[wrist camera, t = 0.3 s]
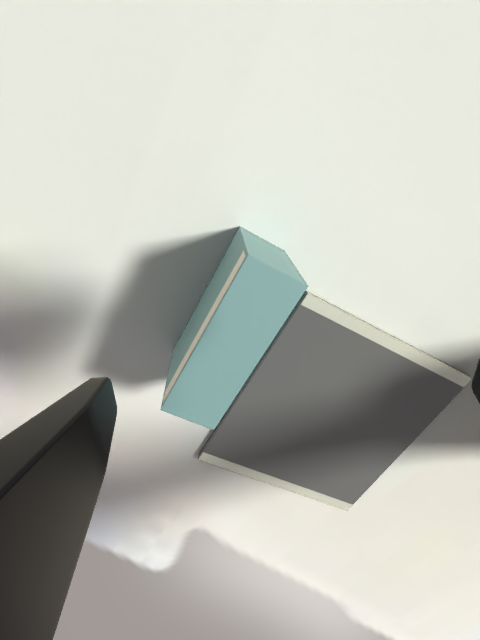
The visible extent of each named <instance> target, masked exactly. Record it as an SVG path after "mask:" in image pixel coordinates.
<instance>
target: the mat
mask: <svg viewBox="0 0 480 640" xmlns="http://www.w3.org/2000/svg"><path fill="white" fill-rule="evenodd" d="M471 380H472V378H470V377H469V376H468V375H466V374H464V373H462V372H460V371H458V370H457V369H455V368H453V367H451V366H449V365H447V364H445V363H443V362H441V361H439V360H437V359H436V358H434V357H432V356H430V355H428V354H426V353H424V352H422V351H420V350H418V349H416V348H414V347H413V346H411V345H409V344H407V343H405V342H403V341H401V340H399V339H397V338H395V337H393V336H391V335H390V334H388V333H386V332H384V331H382V330H380V329H378V328H376V327H374V326H372V325H370V324H368V323H367V322H365V321H363V320H361V319H359V318H357V317H355V316H353V315H351V314H349V313H347V312H345V311H344V310H342V309H340V308H338V307H336V306H334V305H332V304H330V303H328V302H326V301H324V300H323V299H321V298H319V297H317V296H315V295H313V294H311V293H309V292H307V291H306V292H305V294H304V295H303V297H302V298H301V300H300V301H299V303H298V304H297V306H296V307H295V309H294V310H293V312H292V314H291V315H290V317H289V318H288V320H287V321H286V323H285V324H284V326H283V327H282V329H281V330H280V332H279V333H278V335H277V336H276V338H275V339H274V341H273V342H272V344H271V346H270V347H269V349H268V350H267V352H266V353H265V355H264V356H263V358H262V359H261V361H260V362H259V364H258V365H257V367H256V368H255V370H254V371H253V373H252V374H251V376H250V377H249V379H248V381H247V382H246V384H245V385H244V387H243V388H242V390H241V391H240V393H239V394H238V396H237V397H236V399H235V400H234V402H233V403H232V405H231V406H230V408H229V409H228V411H227V413H226V414H225V416H224V417H223V419H222V420H221V422H220V423H219V425H218V426H217V428H216V429H215V431H214V432H213V434H212V435H211V437H210V438H209V440H208V441H207V443H206V445H205V446H204V448H203V449H202V451H201V452H200V454H199V456H198V460H201V461H204V462H207V463H209V464H212V465H215V466H218V467H221V468H224V469H227V470H230V471H233V472H236V473H239V474H241V475H244V476H247V477H250V478H253V479H256V480H259V481H262V482H265V483H268V484H270V485H273V486H276V487H279V488H282V489H285V490H288V491H291V492H294V493H297V494H300V495H302V496H305V497H308V498H311V499H314V500H317V501H320V502H323V503H326V504H329V505H331V506H334V507H337V508H340V509H343V510H346V511H348V510H349V509H350V508H351V507H352V506H353V504H354V503H355V502H356V501H357V500H358V499H359V498H360V497H361V495H362V494H363V493H364V492H365V491H366V490H367V489H368V488H369V487H370V486H371V485H372V484H373V483H374V482H375V481H376V480H377V479H378V478H379V476H380V475H381V474H382V473H383V472H384V471H385V470H386V469H387V468H388V467H389V466H390V465H391V464H392V463H393V462H394V461H395V460H396V459H397V457H398V456H399V455H400V454H401V453H402V452H403V451H404V450H405V449H406V448H407V447H408V446H409V445H410V444H411V443H412V442H413V441H414V440H415V438H416V437H417V436H418V435H419V434H420V433H421V432H422V431H423V430H424V429H425V428H426V427H427V426H428V425H429V424H430V423H431V422H432V421H433V419H434V418H435V417H436V416H437V415H438V414H439V413H440V412H441V411H442V410H443V409H444V408H445V407H446V406H447V405H448V404H449V403H450V402H451V400H452V399H453V398H454V397H455V396H456V395H457V394H458V393H459V392H460V391H461V390H462V389H463V388H464V387H465V386H466V385H467V384H468V383H469V382H470V381H471Z"/></svg>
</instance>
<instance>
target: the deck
mask: <svg viewBox="0 0 480 640" xmlns="http://www.w3.org/2000/svg"><path fill="white" fill-rule="evenodd" d="M307 287H308V285H307V283H306V282H305V280H304V279H303V277H302V276H301V274H300V273H299V271H298V270H297V268H296V267H295V266H294V264H293V263H292V261H291V260H290V258H289V257H288V255H287V254H286V252H285V251H284V250H282V249H280V248H279V247H277V246H275V245H273V244H271V243H269V242H268V241H266V240H264V239H262V238H260V237H258V236H257V235H255V234H253V233H251V232H249V231H247V230H246V229H244V228H242V227H239V228H238V230H237V232H236V234H235V236H234V238H233V240H232V241H231V243H230V245H229V247H228V249H227V251H226V253H225V254H224V256H223V258H222V260H221V262H220V264H219V266H218V267H217V269H216V271H215V273H214V275H213V277H212V279H211V280H210V282H209V284H208V286H207V288H206V290H205V292H204V293H203V295H202V297H201V299H200V301H199V303H198V305H197V306H196V308H195V310H194V312H193V314H192V316H191V318H190V319H189V321H188V323H187V325H186V327H185V329H184V331H183V332H182V334H181V336H180V338H179V340H178V342H177V344H176V345H175V347H174V349H173V352H172V357H171V362H170V367H169V372H168V377H167V382H166V386H165V391H164V396H163V401H162V406H161V410H162V411H164V412H167V413H170V414H173V415H175V416H178V417H181V418H183V419H186V420H189V421H191V422H194V423H197V424H199V425H202V426H205V427H207V428H210V429H213V430H214V429H215V428H216V426H217V425H218V423H219V422H220V420H221V419H222V417H223V416H224V414H225V412H226V411H227V409H228V408H229V406H230V405H231V403H232V402H233V400H234V399H235V397H236V396H237V394H238V393H239V391H240V390H241V388H242V387H243V385H244V383H245V382H246V380H247V379H248V377H249V376H250V374H251V373H252V371H253V370H254V368H255V367H256V365H257V364H258V362H259V361H260V359H261V358H262V356H263V355H264V353H265V351H266V350H267V348H268V347H269V345H270V344H271V342H272V341H273V339H274V338H275V336H276V335H277V333H278V332H279V330H280V329H281V327H282V326H283V324H284V322H285V321H286V319H287V318H288V316H289V315H290V313H291V312H292V310H293V309H294V307H295V306H296V304H297V303H298V301H299V300H300V298H301V297H302V295H303V293H304V292H305V290H306V289H307Z"/></svg>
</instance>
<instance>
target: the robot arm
mask: <svg viewBox="0 0 480 640" xmlns="http://www.w3.org/2000/svg"><path fill="white" fill-rule="evenodd" d="M472 390H473V393H474V395H475V396H476V398H477V399H478V401H479V403H480V359H479V361H478V364H477V368H476V371H475V374H474V378H473V381H472ZM116 415H117V405H116V400H115V396H114V391H113V387H112V383H111V380H110V379H109V378H108V377H100V378H91V379H89V380H88V381H86V382H85V383H83V384H82V385H80V386H79V387H77V388H76V389H74V390H73V391H71V392H70V393H68V394H67V395H65V396H64V397H63V398H61V399H60V400H58V401H57V402H55V403H54V404H52V405H51V406H49V407H48V408H46V409H45V410H43V411H42V412H40V413H39V414H37V415H36V416H34V417H33V418H31V419H30V420H29V421H27V422H26V423H24V424H23V425H21V426H20V427H18V428H17V429H15V430H14V431H12V432H11V433H9V434H8V435H6V436H5V437H3V438H2V439H0V640H53V637H54V634H55V631H56V628H57V624H58V621H59V618H60V615H61V611H62V609H63V605H64V602H65V599H66V596H67V593H68V590H69V586H70V583H71V580H72V577H73V574H74V571H75V568H76V564H77V561H78V558H79V555H80V552H81V549H82V545H83V542H84V539H85V536H86V533H87V530H88V527H89V524H90V520H91V517H92V514H93V511H94V508H95V505H96V502H97V498H98V495H99V492H100V489H101V486H102V483H103V479H104V476H105V472H106V467H107V462H108V457H109V452H110V447H111V441H112V436H113V431H114V426H115V421H116Z"/></svg>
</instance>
